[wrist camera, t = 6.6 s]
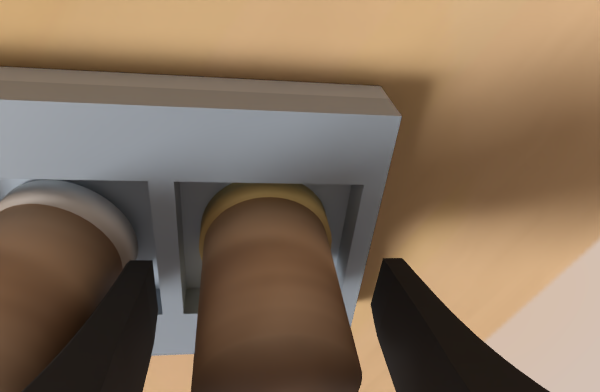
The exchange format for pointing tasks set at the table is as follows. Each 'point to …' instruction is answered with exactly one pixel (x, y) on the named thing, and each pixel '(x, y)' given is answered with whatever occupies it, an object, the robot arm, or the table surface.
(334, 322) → the sleeve
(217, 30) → the table surface
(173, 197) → the grey divided tray
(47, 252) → the sleeve seated
